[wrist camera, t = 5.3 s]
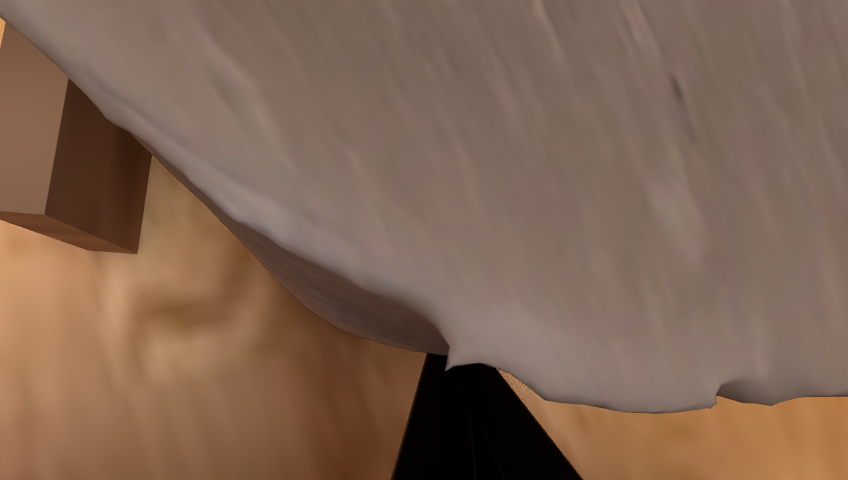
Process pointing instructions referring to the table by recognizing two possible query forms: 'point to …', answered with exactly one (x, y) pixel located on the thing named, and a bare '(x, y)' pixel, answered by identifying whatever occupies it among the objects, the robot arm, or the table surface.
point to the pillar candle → (513, 174)
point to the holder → (65, 157)
